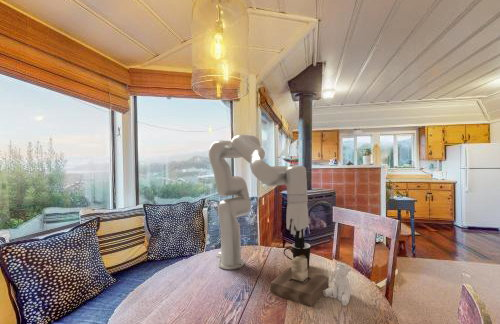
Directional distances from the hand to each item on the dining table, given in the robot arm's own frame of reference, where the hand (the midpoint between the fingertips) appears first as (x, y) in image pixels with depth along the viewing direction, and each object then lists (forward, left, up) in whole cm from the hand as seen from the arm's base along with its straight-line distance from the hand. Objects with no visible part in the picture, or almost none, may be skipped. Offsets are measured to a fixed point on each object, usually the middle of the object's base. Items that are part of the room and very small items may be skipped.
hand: (299, 247), depth 92 cm
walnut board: (0, 0, -16) cm, 16 cm away
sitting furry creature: (+13, +4, -16) cm, 21 cm away
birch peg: (0, 0, -16) cm, 16 cm away
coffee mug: (-10, +19, -16) cm, 27 cm away
